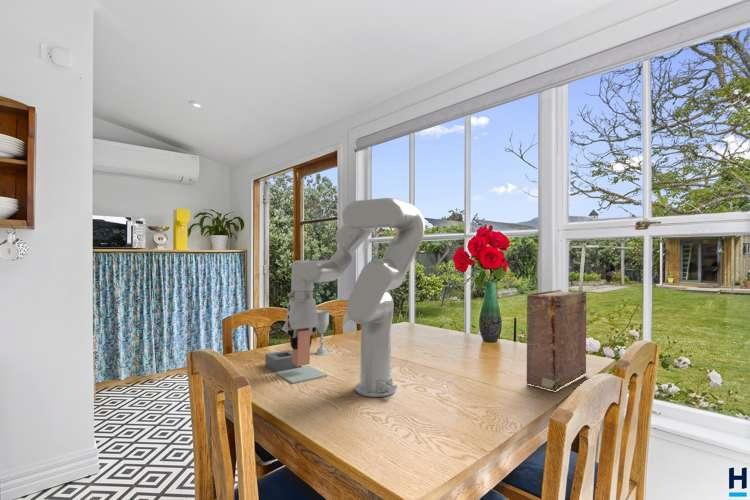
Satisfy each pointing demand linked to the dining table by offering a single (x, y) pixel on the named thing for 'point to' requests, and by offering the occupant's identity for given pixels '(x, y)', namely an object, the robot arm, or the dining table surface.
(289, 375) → the mat
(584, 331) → the book
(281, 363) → the grey square socket block
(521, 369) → the dining table surface
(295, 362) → the plug
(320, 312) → the chalice
